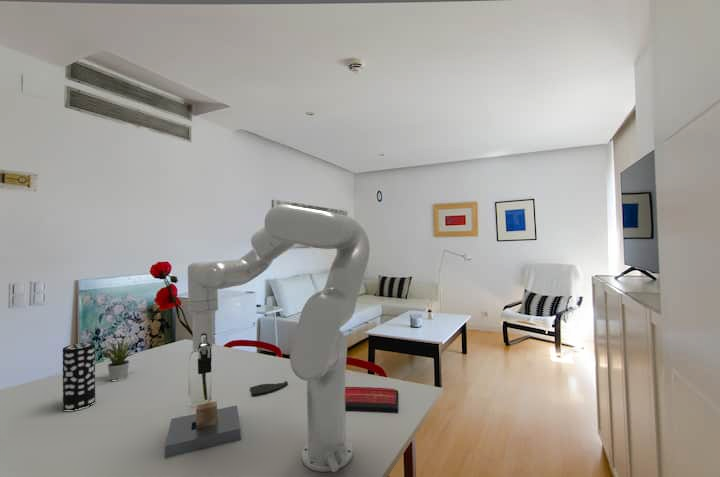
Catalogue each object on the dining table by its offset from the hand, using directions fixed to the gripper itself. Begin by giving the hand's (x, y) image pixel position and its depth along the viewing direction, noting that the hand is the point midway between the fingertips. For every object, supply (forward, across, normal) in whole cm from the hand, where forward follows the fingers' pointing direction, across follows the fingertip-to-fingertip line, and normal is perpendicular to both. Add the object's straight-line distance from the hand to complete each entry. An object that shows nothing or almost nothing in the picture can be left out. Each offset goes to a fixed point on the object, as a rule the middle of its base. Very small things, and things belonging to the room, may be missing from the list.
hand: (205, 367), depth 92 cm
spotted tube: (+18, -38, -40) cm, 58 cm away
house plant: (+18, -62, -32) cm, 72 cm away
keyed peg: (+19, 0, 0) cm, 19 cm away
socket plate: (+19, 0, 0) cm, 19 cm away
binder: (+20, +2, +49) cm, 53 cm away
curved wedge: (+20, -22, +20) cm, 35 cm away
